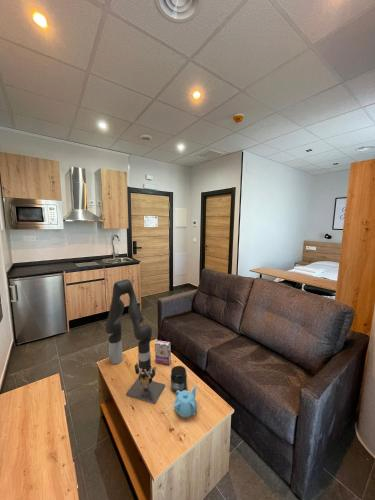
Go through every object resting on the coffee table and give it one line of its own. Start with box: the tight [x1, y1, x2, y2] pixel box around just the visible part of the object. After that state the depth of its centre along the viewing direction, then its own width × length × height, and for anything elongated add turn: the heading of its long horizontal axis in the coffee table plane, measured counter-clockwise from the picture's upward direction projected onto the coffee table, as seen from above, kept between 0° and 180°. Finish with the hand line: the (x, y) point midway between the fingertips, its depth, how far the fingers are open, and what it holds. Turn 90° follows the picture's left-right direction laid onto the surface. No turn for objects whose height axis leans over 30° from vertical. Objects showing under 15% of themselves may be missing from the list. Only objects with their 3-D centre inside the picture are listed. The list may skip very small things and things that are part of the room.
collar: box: [140, 372, 150, 386], centre depth 133 cm, size 6×6×4 cm
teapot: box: [173, 384, 198, 420], centre depth 119 cm, size 13×14×11 cm
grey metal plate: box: [125, 376, 166, 405], centre depth 133 cm, size 20×14×6 cm
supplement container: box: [170, 365, 188, 393], centre depth 135 cm, size 10×10×12 cm
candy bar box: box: [154, 339, 172, 366], centre depth 159 cm, size 11×5×16 cm, turn 73°
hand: (145, 381), depth 133 cm, fingers closed on collar, 6 cm apart
